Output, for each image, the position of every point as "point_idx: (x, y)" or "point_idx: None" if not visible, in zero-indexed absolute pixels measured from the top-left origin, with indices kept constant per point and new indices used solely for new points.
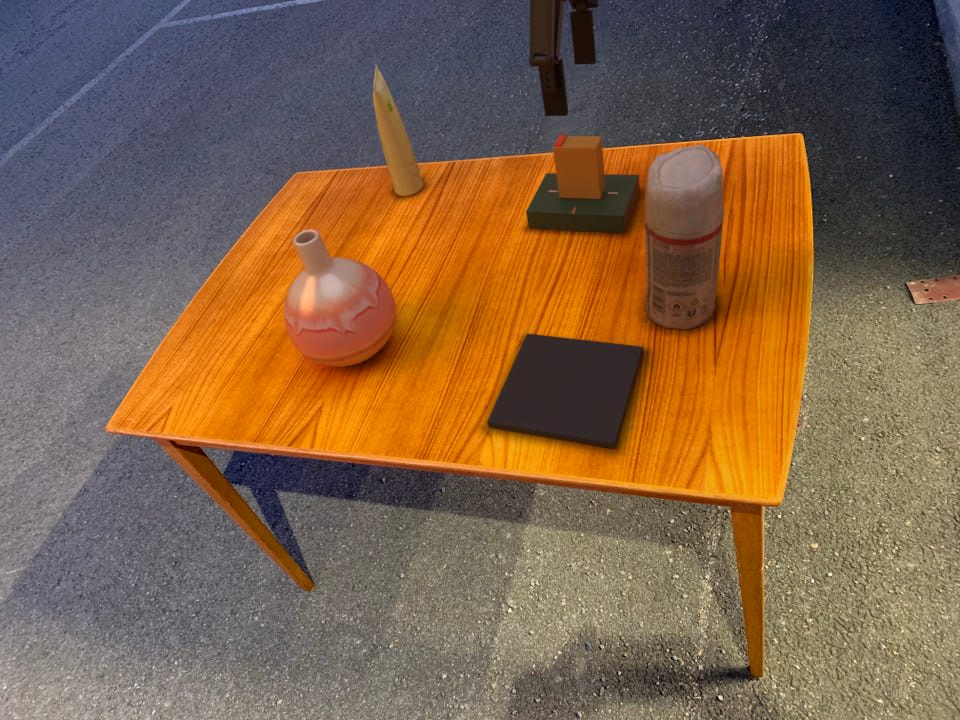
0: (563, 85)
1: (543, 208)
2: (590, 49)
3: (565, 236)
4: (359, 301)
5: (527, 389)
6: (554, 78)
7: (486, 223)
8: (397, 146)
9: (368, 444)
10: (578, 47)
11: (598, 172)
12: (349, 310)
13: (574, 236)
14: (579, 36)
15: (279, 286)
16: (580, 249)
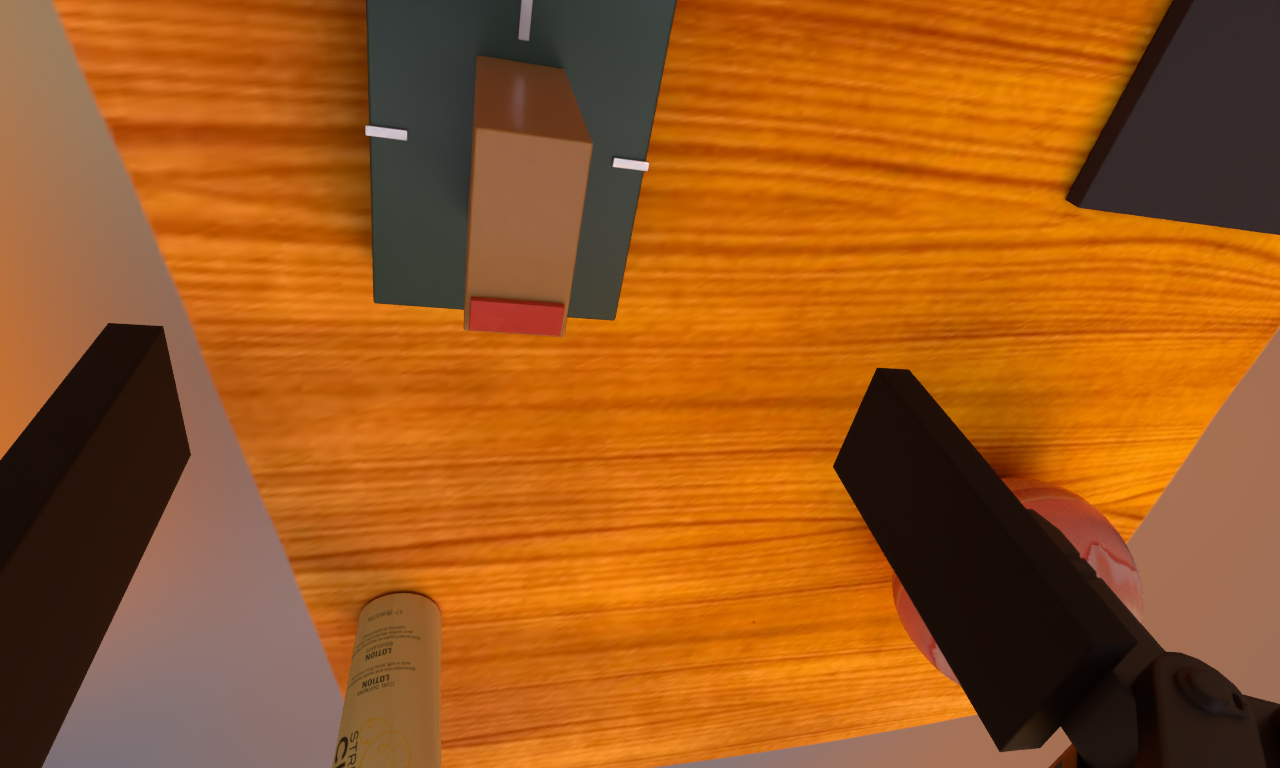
0: (1010, 496)
1: (604, 270)
2: (122, 422)
3: (656, 169)
4: (1123, 583)
5: (1253, 170)
6: (1093, 585)
7: (569, 404)
8: (431, 739)
9: (1199, 417)
10: (134, 517)
11: (574, 101)
12: (1137, 588)
13: (659, 139)
14: (90, 581)
15: (748, 680)
16: (732, 110)
